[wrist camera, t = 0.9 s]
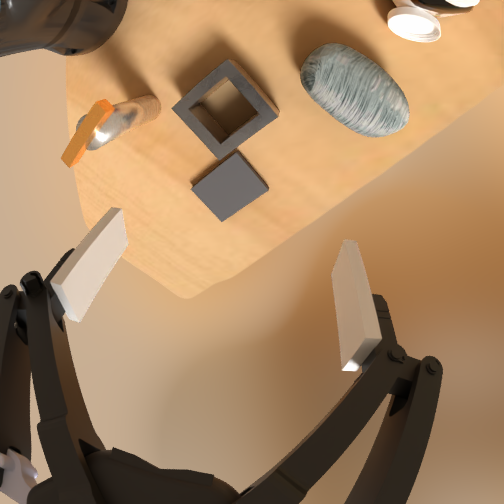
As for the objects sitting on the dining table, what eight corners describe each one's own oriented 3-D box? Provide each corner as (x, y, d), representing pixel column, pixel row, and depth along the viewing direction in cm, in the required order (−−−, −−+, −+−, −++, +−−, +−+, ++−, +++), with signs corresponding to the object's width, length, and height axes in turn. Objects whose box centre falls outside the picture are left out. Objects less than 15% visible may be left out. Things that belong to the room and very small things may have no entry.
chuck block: (185, 103, 33) (171, 108, 29) (235, 60, 29) (227, 59, 25) (227, 149, 37) (219, 160, 33) (279, 111, 33) (278, 116, 29)
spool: (272, 90, 28) (320, 73, 20) (307, 39, 27) (357, 16, 18) (349, 152, 35) (404, 160, 26) (375, 102, 33) (429, 101, 25)
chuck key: (124, 117, 35) (54, 151, 22) (157, 79, 31) (88, 94, 19) (140, 135, 36) (75, 175, 24) (175, 98, 33) (113, 120, 20)
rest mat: (192, 186, 41) (190, 189, 40) (237, 150, 37) (236, 152, 36) (223, 218, 44) (221, 222, 43) (268, 187, 40) (268, 190, 39)
